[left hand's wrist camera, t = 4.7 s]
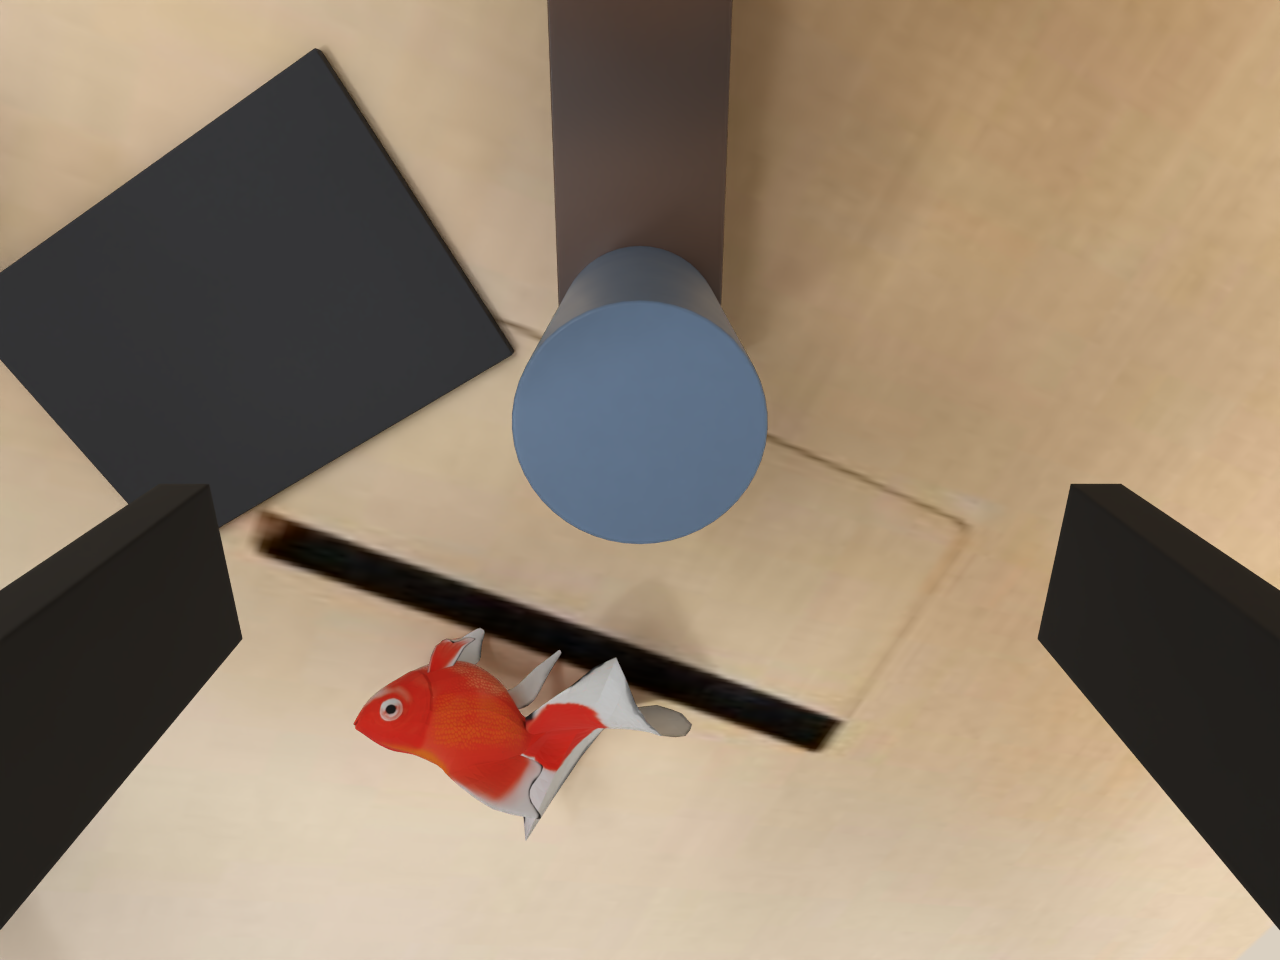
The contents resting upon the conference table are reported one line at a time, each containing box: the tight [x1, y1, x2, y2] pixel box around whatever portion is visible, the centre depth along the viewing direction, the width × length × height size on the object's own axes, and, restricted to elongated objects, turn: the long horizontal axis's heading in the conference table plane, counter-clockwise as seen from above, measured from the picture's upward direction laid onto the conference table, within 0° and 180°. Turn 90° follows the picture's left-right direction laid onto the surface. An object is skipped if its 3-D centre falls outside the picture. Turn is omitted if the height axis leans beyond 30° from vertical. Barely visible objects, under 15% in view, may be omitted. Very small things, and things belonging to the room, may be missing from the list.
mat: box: [0, 48, 514, 527], centre depth 36 cm, size 20×14×1 cm
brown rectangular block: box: [547, 0, 732, 306], centre depth 30 cm, size 22×6×6 cm, turn 0°
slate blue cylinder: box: [512, 246, 768, 544], centre depth 24 cm, size 6×6×12 cm
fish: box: [354, 628, 692, 840], centre depth 39 cm, size 11×16×10 cm
